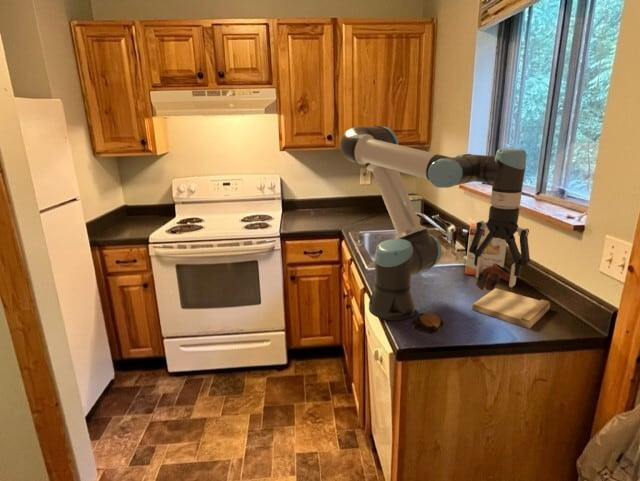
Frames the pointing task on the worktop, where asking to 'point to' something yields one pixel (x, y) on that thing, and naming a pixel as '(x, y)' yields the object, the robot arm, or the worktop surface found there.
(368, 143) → the robot arm
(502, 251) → the cracker box
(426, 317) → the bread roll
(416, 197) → the protein box
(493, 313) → the folded beige towel
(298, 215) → the worktop surface
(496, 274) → the pottery mug
